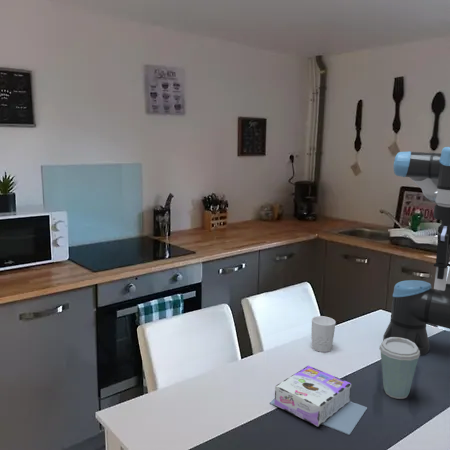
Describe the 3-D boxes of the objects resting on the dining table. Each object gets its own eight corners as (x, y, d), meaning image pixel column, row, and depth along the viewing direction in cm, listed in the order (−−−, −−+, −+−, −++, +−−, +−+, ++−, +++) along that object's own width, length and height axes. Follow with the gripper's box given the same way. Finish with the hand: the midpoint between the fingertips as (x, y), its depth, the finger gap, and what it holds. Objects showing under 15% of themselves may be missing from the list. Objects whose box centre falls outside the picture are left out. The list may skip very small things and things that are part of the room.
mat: (292, 382, 135) (292, 381, 135) (367, 408, 123) (367, 407, 122) (269, 403, 123) (269, 402, 123) (349, 435, 111) (349, 434, 111)
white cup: (315, 340, 163) (317, 314, 161) (336, 347, 158) (339, 319, 156) (306, 348, 156) (307, 321, 154) (327, 355, 152) (329, 327, 150)
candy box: (307, 383, 134) (272, 405, 122) (308, 364, 133) (274, 384, 121) (350, 402, 125) (317, 428, 113) (352, 382, 124) (319, 406, 112)
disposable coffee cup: (417, 406, 124) (423, 355, 121) (375, 399, 127) (380, 348, 124) (413, 387, 134) (419, 339, 131) (374, 380, 137) (379, 333, 134)
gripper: (439, 201, 130) (429, 280, 135) (430, 206, 120) (420, 292, 124) (468, 204, 126) (457, 286, 131) (462, 209, 116) (450, 298, 120)
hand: (439, 289), depth 127 cm, fingers closed
